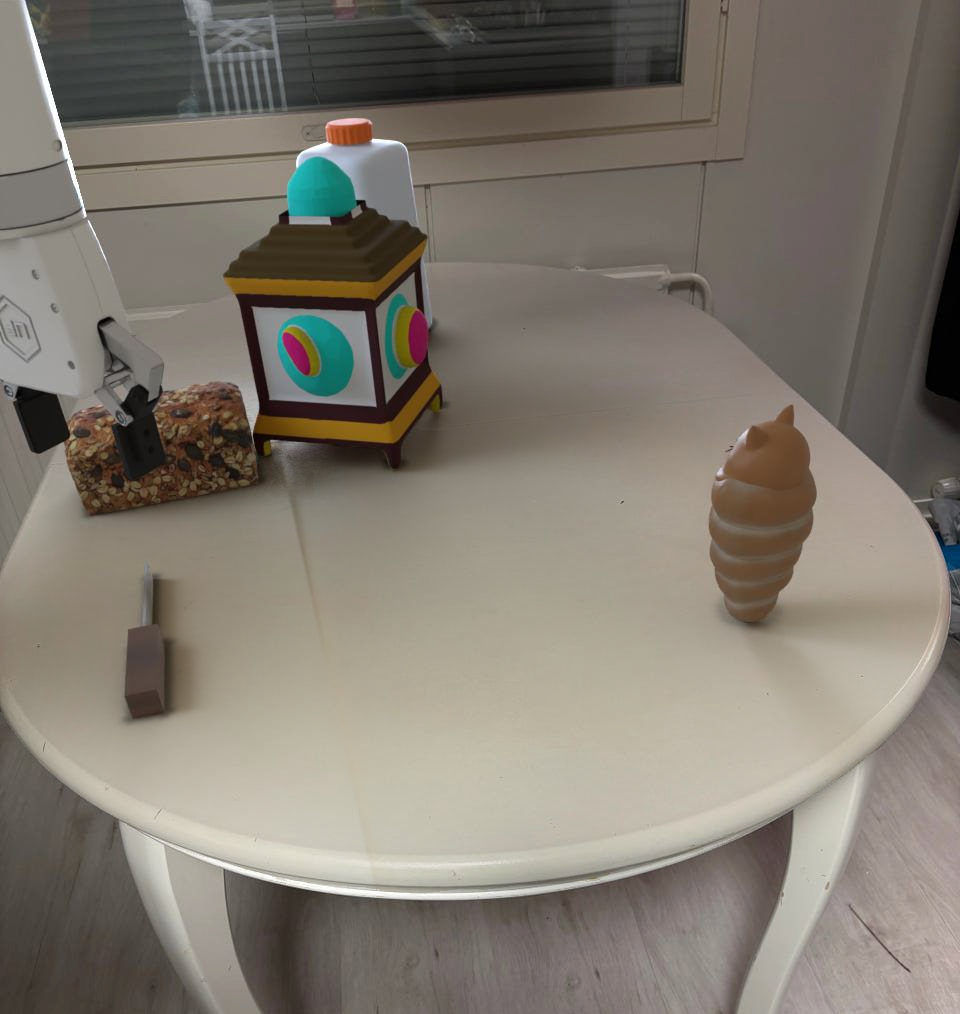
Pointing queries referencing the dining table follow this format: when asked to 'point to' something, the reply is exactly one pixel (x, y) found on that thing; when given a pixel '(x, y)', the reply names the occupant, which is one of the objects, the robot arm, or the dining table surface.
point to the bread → (166, 450)
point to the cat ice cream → (761, 515)
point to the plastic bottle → (373, 174)
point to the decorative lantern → (335, 320)
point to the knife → (145, 660)
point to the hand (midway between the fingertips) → (98, 458)
